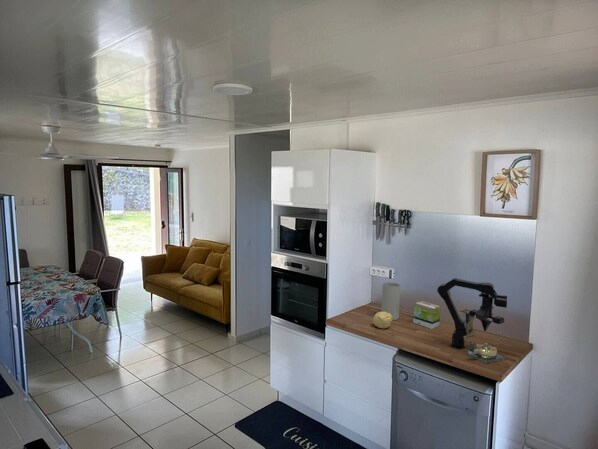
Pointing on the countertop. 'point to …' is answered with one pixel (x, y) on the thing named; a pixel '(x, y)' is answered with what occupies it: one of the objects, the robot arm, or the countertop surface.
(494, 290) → the robot arm
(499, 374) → the countertop surface
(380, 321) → the yellow crumpled ball
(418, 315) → the tea box
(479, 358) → the mounting plate
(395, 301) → the cylinder vase
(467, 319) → the coffee box
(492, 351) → the yellow-green irregular lump
